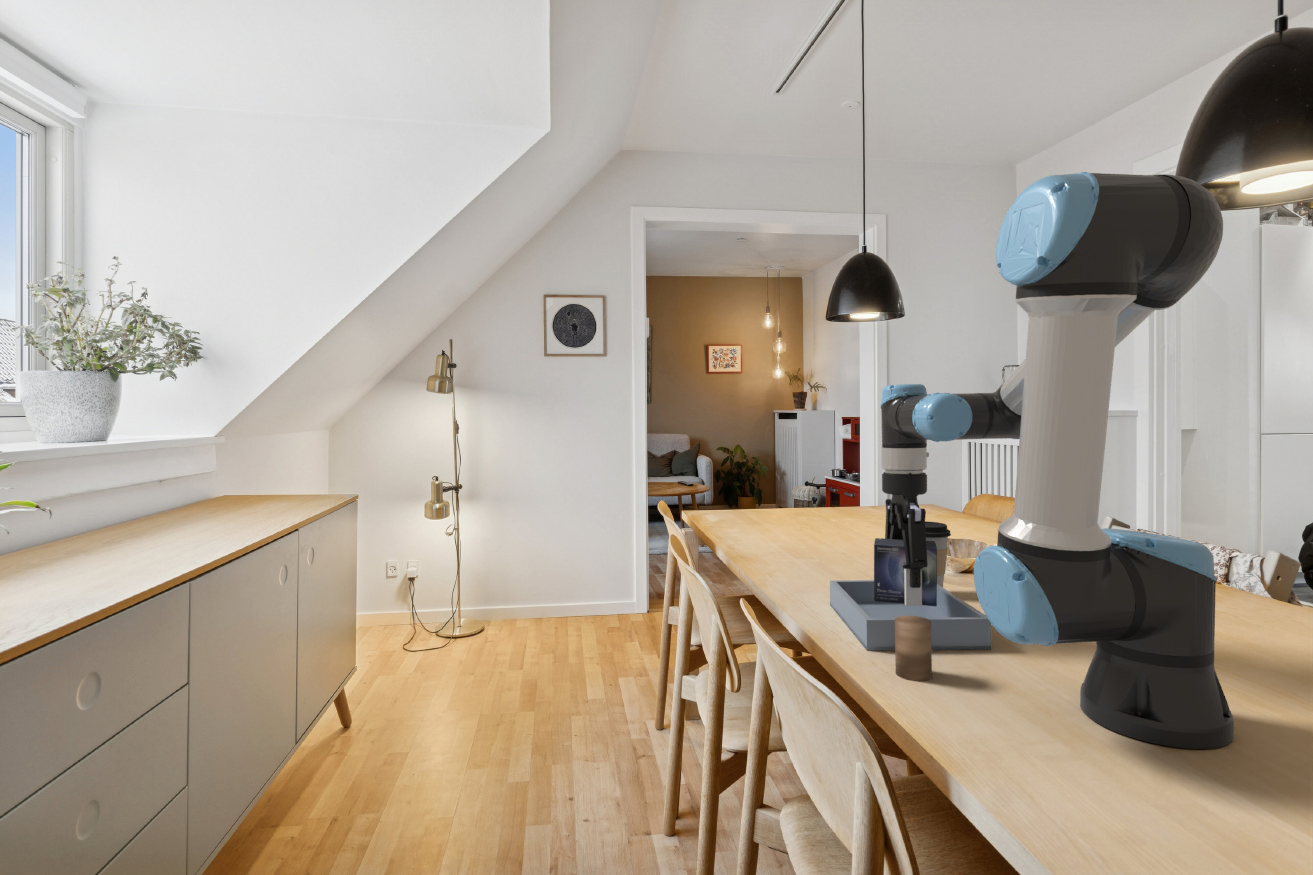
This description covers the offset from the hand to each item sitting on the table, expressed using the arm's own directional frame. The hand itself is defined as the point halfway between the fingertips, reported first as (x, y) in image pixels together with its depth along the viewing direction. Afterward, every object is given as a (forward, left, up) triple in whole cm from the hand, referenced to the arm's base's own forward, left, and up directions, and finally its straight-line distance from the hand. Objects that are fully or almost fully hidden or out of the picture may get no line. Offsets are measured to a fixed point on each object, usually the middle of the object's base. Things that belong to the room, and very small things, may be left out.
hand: (904, 598), depth 118 cm
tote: (+2, 0, -5) cm, 6 cm away
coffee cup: (+22, -12, -6) cm, 26 cm away
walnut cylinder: (-21, +6, -5) cm, 23 cm away
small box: (0, 0, -1) cm, 1 cm away
